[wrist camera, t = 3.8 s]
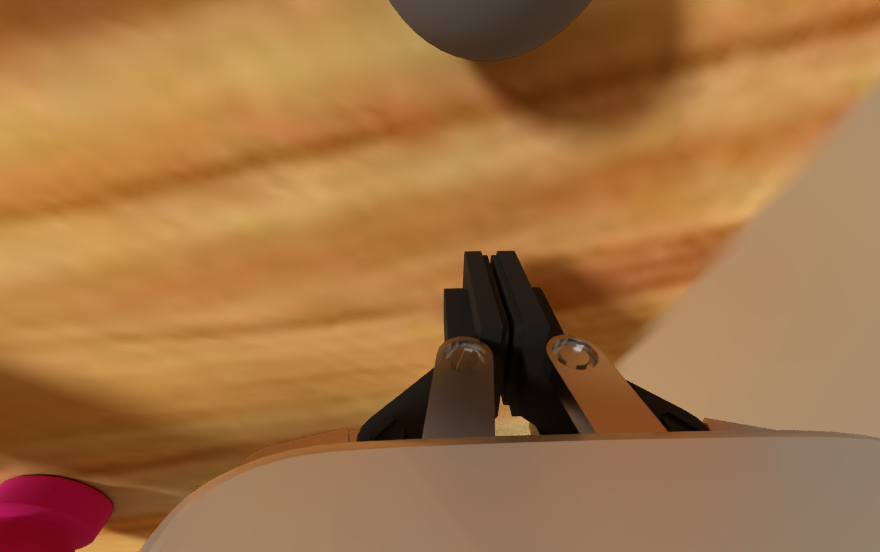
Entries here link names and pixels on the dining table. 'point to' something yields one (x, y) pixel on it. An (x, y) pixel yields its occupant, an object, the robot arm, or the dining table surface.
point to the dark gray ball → (488, 24)
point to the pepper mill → (50, 514)
